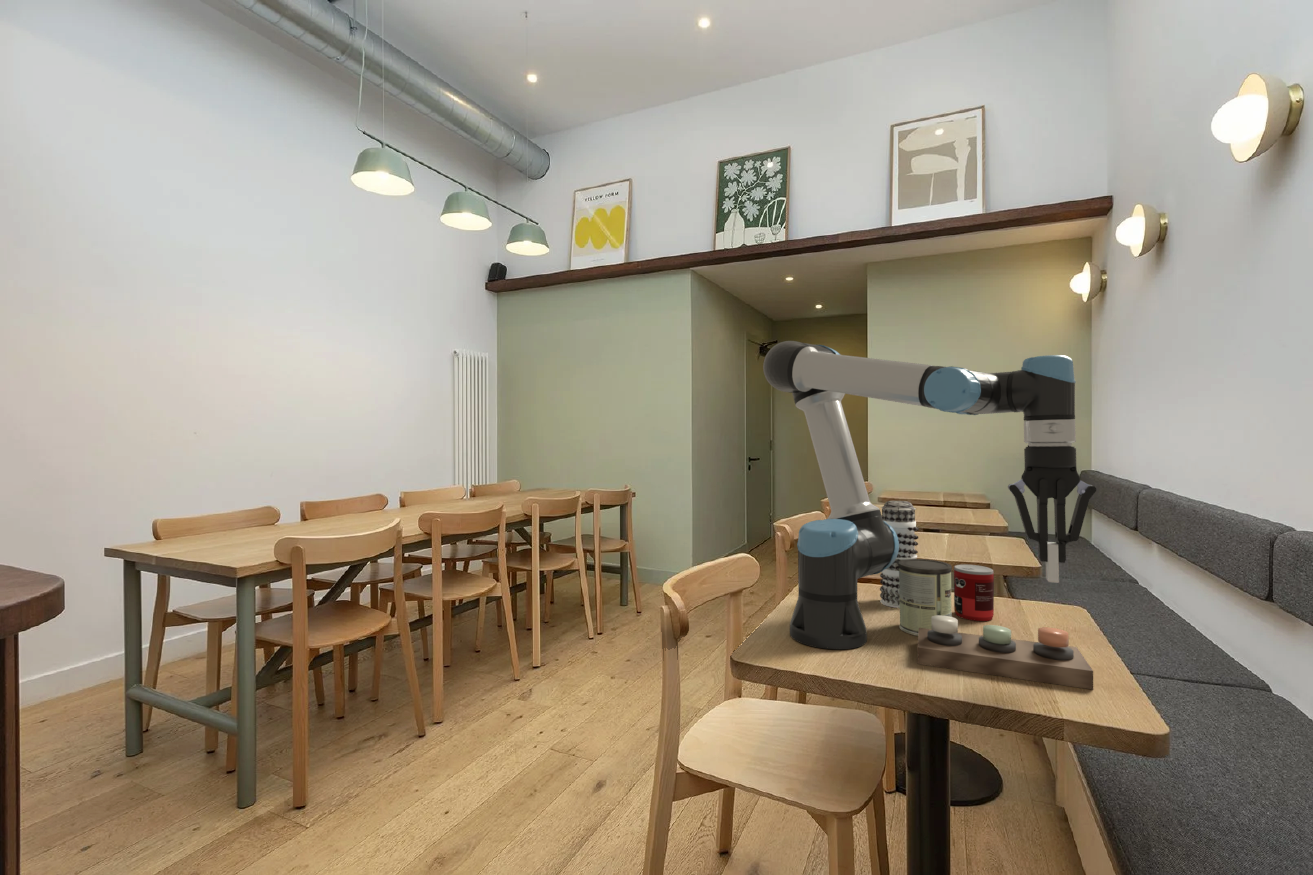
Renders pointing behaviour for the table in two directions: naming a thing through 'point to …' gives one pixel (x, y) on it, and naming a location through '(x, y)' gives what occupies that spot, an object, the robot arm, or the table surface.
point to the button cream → (944, 624)
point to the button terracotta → (1053, 637)
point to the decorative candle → (904, 525)
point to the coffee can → (923, 593)
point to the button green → (997, 634)
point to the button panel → (1005, 658)
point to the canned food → (974, 592)
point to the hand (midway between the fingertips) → (1052, 580)
